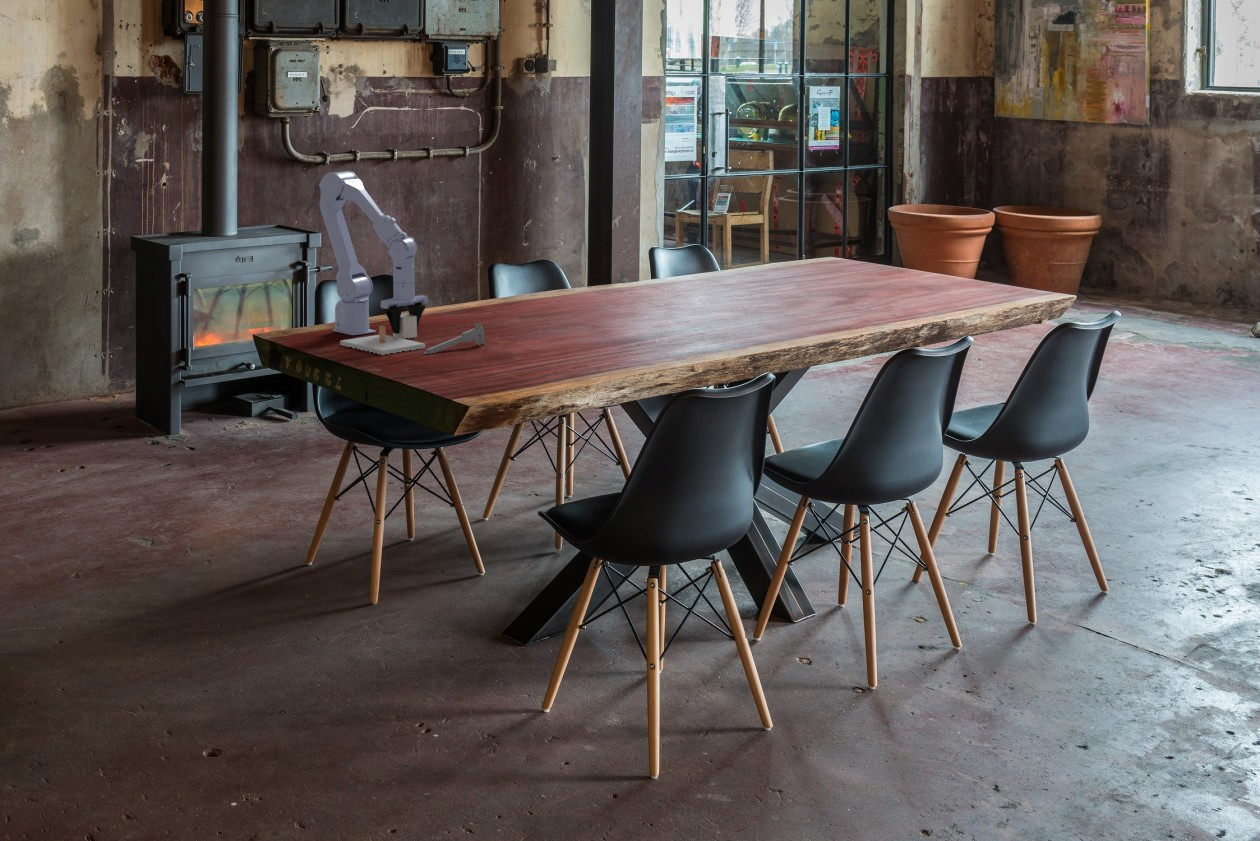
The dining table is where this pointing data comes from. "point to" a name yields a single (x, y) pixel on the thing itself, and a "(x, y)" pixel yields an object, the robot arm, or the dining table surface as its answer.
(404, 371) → the dining table surface
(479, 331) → the caliper
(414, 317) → the cream rectangular prism
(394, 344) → the light gray slab
